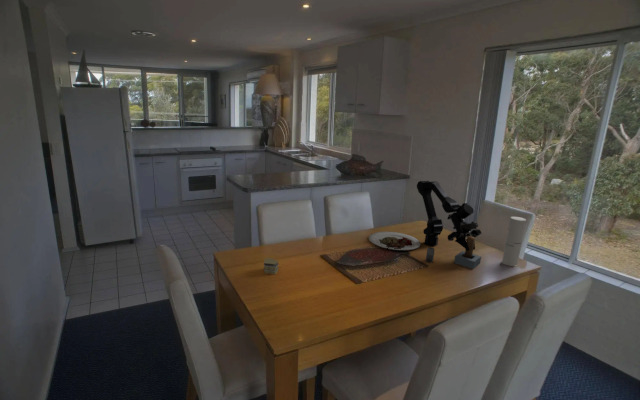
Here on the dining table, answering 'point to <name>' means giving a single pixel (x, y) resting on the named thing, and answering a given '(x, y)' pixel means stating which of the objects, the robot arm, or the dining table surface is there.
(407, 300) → the dining table surface
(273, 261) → the grey lidded box
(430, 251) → the short grey pin
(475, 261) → the hole block
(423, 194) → the robot arm
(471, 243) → the tall walnut pin
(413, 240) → the plated food
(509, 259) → the cylindrical container
